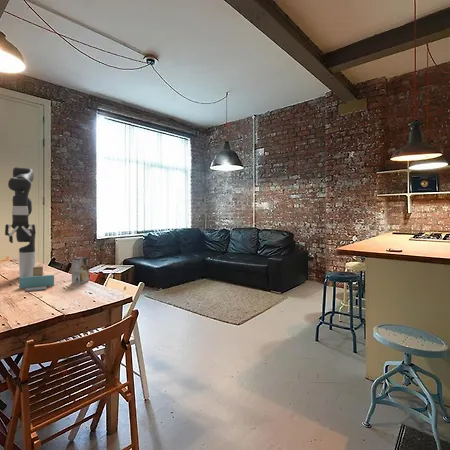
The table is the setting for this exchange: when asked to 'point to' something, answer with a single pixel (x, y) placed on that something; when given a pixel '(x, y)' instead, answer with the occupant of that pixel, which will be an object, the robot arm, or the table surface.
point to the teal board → (36, 281)
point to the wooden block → (38, 271)
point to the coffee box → (80, 270)
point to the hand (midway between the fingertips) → (20, 242)
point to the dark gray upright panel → (35, 288)
